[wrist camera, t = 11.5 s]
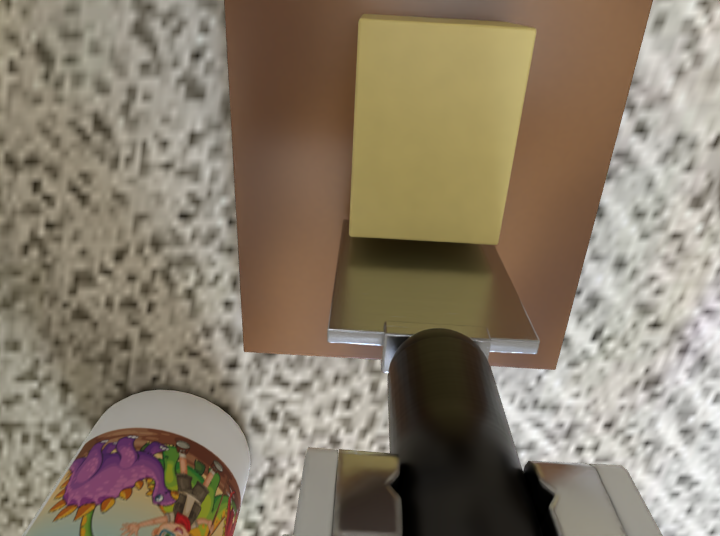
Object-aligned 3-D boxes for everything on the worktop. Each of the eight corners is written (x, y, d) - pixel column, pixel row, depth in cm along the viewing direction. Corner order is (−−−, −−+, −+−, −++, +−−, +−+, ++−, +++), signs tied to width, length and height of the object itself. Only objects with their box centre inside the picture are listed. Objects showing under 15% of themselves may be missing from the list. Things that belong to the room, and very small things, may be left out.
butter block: (353, 198, 19) (348, 237, 16) (361, 13, 17) (358, 17, 14) (478, 205, 19) (498, 246, 16) (507, 21, 17) (538, 27, 14)
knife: (341, 252, 20) (260, 881, 6) (343, 194, 19) (252, 784, 5) (480, 260, 20) (738, 908, 6) (490, 202, 19) (831, 817, 5)
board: (251, 332, 24) (243, 352, 23) (226, -187, 16) (212, -203, 14) (545, 349, 24) (555, 370, 23) (672, -161, 16) (700, -175, 14)
